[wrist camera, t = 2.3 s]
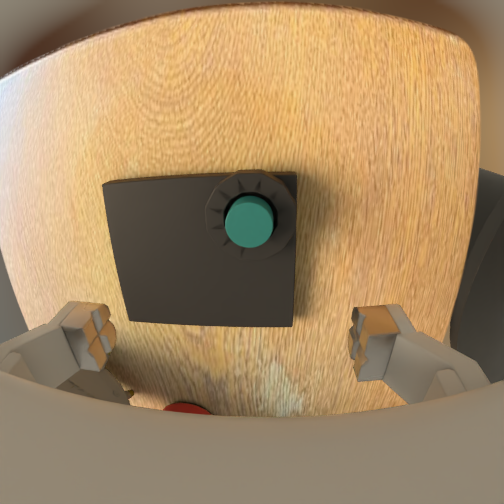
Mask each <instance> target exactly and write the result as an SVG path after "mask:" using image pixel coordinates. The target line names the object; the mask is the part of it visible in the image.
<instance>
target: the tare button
mask: <svg viewBox="0 0 504 504" xmlns="http://www.w3.org/2000/svg"><path fill="white" fill-rule="evenodd" d="M225 229H226V232H227V234H228V236H229V238H230V239H231V240H232V241H233V242H234V243H236V244H237V245H239V246H242V247H246V248H253V247H257V246H260V245H262V244H263V243H265V242H266V241H267V240H268V239H269V237H270V236H271V234H272V231H273V213H272V210H271V208H270V206H269V205H268V203H267V202H266V201H264V200H263V199H261V198H259V197H256V196H245V197H242V198H240V199H238V200H237V201H235V202H234V204H233V205H232V206H231V208H230V210H229V212H228V215H227V217H226V220H225Z"/></svg>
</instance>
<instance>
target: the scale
mask: <svg viewBox="0 0 504 504" xmlns="http://www.w3.org/2000/svg"><path fill="white" fill-rule="evenodd" d="M102 187H103V195H104V202H105V209H106V215H107V221H108V227H109V233H110V238H111V244H112V249H113V254H114V259H115V264H116V268H117V273H118V277H119V282H120V286H121V290H122V294H123V298H124V302H125V306H126V310H127V314H128V317H129V321H135V322H148V323H162V324H179V325H199V326H228V327H292V325H293V306H294V284H295V258H296V220H297V175H296V173H295V172H266V171H264V170H238V171H236V172H233V173H206V174H187V175H171V176H157V177H144V178H133V179H123V180H113V181H109V182H107V183H104V184H102ZM245 196H256V197H259V198H261V199H263V200H264V201H266V202H267V203H268V205H269V206H270V208H271V210H272V213H273V231H272V234H271V236H270V237H269V239H268V240H267V241H266V242H265V243H263V244H262V245H260V246H257V247H253V248H246V247H242V246H239V245H237V244H236V243H234V242H233V241H232V240H231V239H230V238H229V236H228V234H227V232H226V229H225V220H226V217H227V215H228V212H229V210H230V208H231V206H232V205H233V204H234V202H235V201H237V200H238V199H240V198H242V197H245Z"/></svg>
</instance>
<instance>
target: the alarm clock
mask: <svg viewBox="0 0 504 504" xmlns="http://www.w3.org/2000/svg"><path fill="white" fill-rule="evenodd" d="M110 353H111V352H109V353H108V354H106V357H107V360H106V362H105V364H104V365H103V367H102V369H101V370H100V372H98V371H92V370H85V369H80V370H79V371H78V372H76V373H75V374H74V375H72V376H71V377H70V378H68V379H67V380H66V381H64V382H63V383H61V384H60V385H59V386H57V387H56V388H55V389H59V390H62V391H66V392H70V393H74V394H78V395H82V396H86V397H90V398H95V399H99V400H104V401H109V402H114V403H119V404H125V405H130V402H129V400H128V399H129V398H131V397H132V396H133V395H134V391H133V390H128V391H124V389H123V387H122V386H121V384H120V383H119V382H118V380H117V379H116V378H115V377H114V376H113V375H112V374H111V373H110V372H109V371H108V370H107V369H106V368H105V366H106V364H107V361H108V358H109V356H110Z"/></svg>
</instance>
